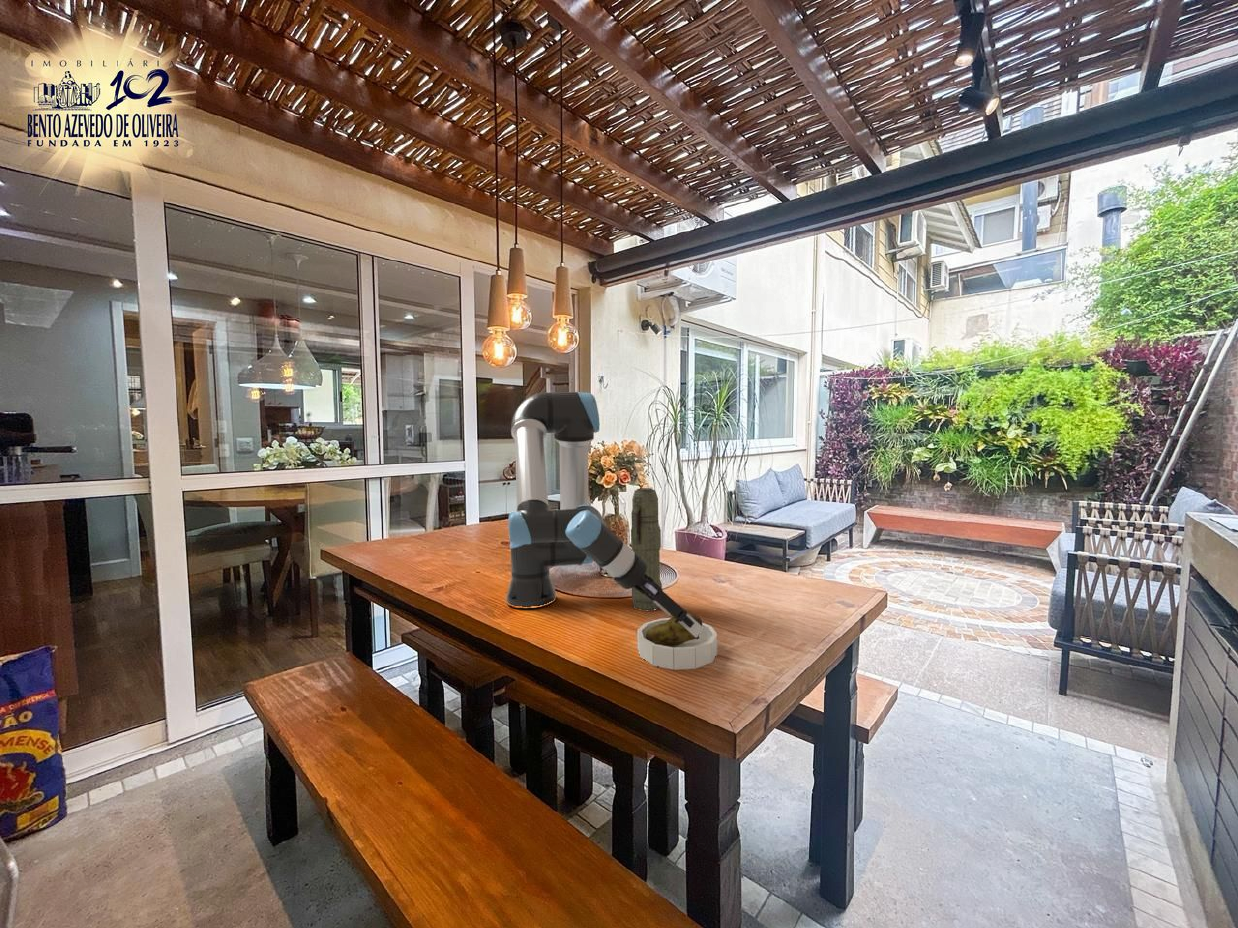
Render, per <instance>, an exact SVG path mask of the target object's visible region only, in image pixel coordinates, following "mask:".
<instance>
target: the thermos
mask: <svg viewBox="0 0 1238 928" xmlns="http://www.w3.org/2000/svg"><path fill="white" fill-rule="evenodd" d="M631 502H632V503H631V504H632V510H631V529H630V543H631V544H630V548H631V549H632V550H633V551H634V553H635V554H637V555H638V556H639V557H640V558H641V559H642V560H643V561H644V562H645V563H646V564H647V571H646V573H645V574H646V575H647V576H648V577H651V578H652V579H653V580H654V582H655V583H656V584H657V585H658V586H659V587H661V588H662V589H663V584H662V583H663V582H662V581H661V569H660V568H661V565H660V564H661V563H660V562H661V560H660V558H661V557H660V556H661V555H660V550H661V547H662V537H661V536H662V535H661V534H662V533H661V531H662V530H661V527H660V524H659V497H658V495H657V491H656V490H655V489H653V488H652V487H651V488H649V487H645V488H644V487H643V488H641V487H640V488H637V489H635V490H634V492H633V496H632V501H631ZM631 599H632V607H635V608H637V609H641V610H654V609H658V608H660V607H658V606H657V605H656V604H655V603H654V602H653V601H652V600H651V599H649V598H648V597H647V596H646V595H643V594H642V593H641V592H640V591H638V590H637V589H636V588H635V587H633V588H631ZM660 609H661V608H660ZM658 610H659V609H658ZM654 611H655V610H654Z"/></svg>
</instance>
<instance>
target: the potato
mask: <svg viewBox="0 0 1238 928" xmlns="http://www.w3.org/2000/svg"><path fill="white" fill-rule="evenodd" d="M687 612H688V614H689V615H690V616H691V617H692V618H693V619H694V620H696V621H697V622H698V623H699V624H700V625H701V626H702V622H703V621H702V618H701V617H700V616H698V615H696V614H694V613H692V612H689V611H687ZM670 618H671V619H669V620H668V621H667V622H665V623H662V624H659V625H656V626H654V627H652V628H650V629H649V630H648V631H647V632H646V639H647V640H649V641H651V642H652V643H654V644H657V645H663V646H675V645H679V644H682V643H684V642H686V641H689V640H693V639H699V635H700V634H699V635H698V636H697V638H696V637H695V636H693V635H692V634H691V633H690V632H689V631H688V630H687V629H686V628H685V627H684V626H682V625H681V624H680V623H679V622H678V623H677V624H676V623H675V622H674V621H675V620H676V618H675V617H674V616H671V617H670Z"/></svg>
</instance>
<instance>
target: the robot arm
mask: <svg viewBox="0 0 1238 928" xmlns="http://www.w3.org/2000/svg"><path fill="white" fill-rule="evenodd" d="M597 403H598V402H597V401H596V398H595V396H594V394H592V393H591V392H582V391H562V392H561V391H560V392H559V391H558V392H557V391H556V392H547V391H543V392H538V393H534V394H532V395H530V396H528V397H527V398H526V399H524V400H523V401H522V403H521V404H520V405H518V407H517V409H516V410H515V412H514V414H513V415H512V420H511V423H510V424H511V426H510V433H511V438H512V439H513V440H515V441H514V442H515V444H514V445H515V447H514V448H515V487H516V488H515V489H516V492H515V493H516V510H515V511H511V512H510V513H509V514H508V538H509V539H508V540H509V541H510V543H509V544H510V545H509V549H510V565H511V566H510V568H511V569H510V570H511V571H510V574H511V580H510V582H509V587H508V590H507V593H506V599H505V600H507V601H506V603H507V602H508V603H509V604H511V605H514V606H522V607H531V606H540V605H544V604H547V603H549V602H551V601H553V600H554V599H555V598H556V599H557V595H556V593H557V592H556V589H555V586H554V584H553V581H552V579H551V575H550V568H551V567H552V568H553V567H568V566H569V567H570V566H582V565H589V564H592V563H593V562H594V563H595V564H597V565H598V567H600V568H601V573H602V574H606V573H607V575H609V576H610V577H611V578H613V580H614V581H615V582H616V583H617V584H619V586H620V587H621V588H623V589H625V590H631V589H632V588H633V587H635V588H636V589H637V590H638V591H640V592H641V593H642V594H643V595H646V596H647V597H648V598H649V599H651V600H652V601H653V602H654V603H655V604H656V605H657V606H658V607H660V609H661V610H662V611H663V612H664V613H665V614H666V615H667V616H668V617H669V618H672V617H675V618H676V620H675V621H674V622H675V623H676V624H677V623H678V622H679V623H680V624H681V625H682V626H684V627H685V628H686V629H687V630H688V631H689V632H690V633H691V634H692V635H693V636H695V637H696V638H697V636H698V635H699V634H700V633H701V631H702V630H703V629H704V628H703V627H702V626H701V625H700V624H699V623H698V622H697V621H696V620H694V619H693V618H692V617H691V616H690V615H689V614H688V612H689V611H687V610H686V609H684V608H683V607H681V606H680V604H678V603H677V602H676V601H675V600H674V599H673V598H671V596H669V595H668V594H666V592H665V591H663V587H662V588H661V587H659V586H658V585H657V584H656V583H655V582H654V580H653V579H652V578H651V577H648V576H647V575H646V574H645V573H646V571H647V564H646V563H645V562H644V561H643V560H642V559H641V558H640V557H639V556H638V555H637V554H635V553H634V551H633V550H632V548H631V546H629V545H628V544H626V542H624V541H623V540H622V539H621V538H620V537H618V536H617V534H615V533H614V532H613V531H612V530H611V529H610V528H609V526H607V524H606V522H605V521H604V519H603V516H602V514H601V513H600V511H599V510H598V509H597V508H596V507H595V506H593V505H591V504H589V461H590V460H589V449H590V448H589V444H590V443H592V441H593V440H595V438H594V437H595V434H596V433H599V431H600V415H599V409H598V405H597ZM547 434H554V435H553V439H554V440H555V441H556V442H557V443H558V444H559V494H560V495H559V497H560V498H559V500H560V501H559V503H560V504H559V505H560V506H559V508H560V509H549V498H548V497H549V496H548V484H547V483H548V482H547V470H546V468H547V467H546V458H545V457H546V456H545V442H544V441H545V440H544V439H545V438H546V436H547Z"/></svg>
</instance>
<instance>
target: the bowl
mask: <svg viewBox="0 0 1238 928" xmlns="http://www.w3.org/2000/svg"><path fill="white" fill-rule="evenodd" d="M671 618H672V617H667V618H666V617H665V618H659V619H655V620H651V621H648V622H645V623H644V624H642V625H641V626H640V627H639V628H638V629H637V630H636V631H637V632H636V633H637V650H639V652H638V655H639V654H640V656H639V658H640V657H642V658H643V659H645V660H646V661H648V662H649V663H650V664H649V663H648V662H647V663H648V664H649V665H651V664H652V665H651V666H654V667H657V666H659V667H658V668H662V669H666V670H672V671H673V670H675V671H677V670H681V671H682V670H695V669H698V668H701V667H704V666H706V665H709V664H712V663H713V662H714V660H715V658H716V657H715V656H718V634H717V632H716V630H715V629H714V628H713V627H712V625H709V624H707V623H705V622H703V621H702V627H703V628H704V629H703V630H702V631H701V633H700V635H699V639H693V640H689V641H686V642H684V643H682V644H679V645H675V646H663V645H657V644H654V643H652V642H651V641H649V640H647V639H646V632H647V631H648V630H649V629H650V628H652V627H654V626H656V625H659V624H662V623H665V622H667V621H668V620H669V619H671ZM643 659H642V660H643ZM646 661H645V662H646Z"/></svg>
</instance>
